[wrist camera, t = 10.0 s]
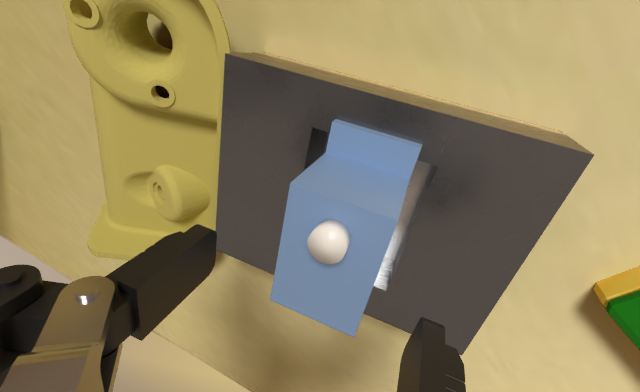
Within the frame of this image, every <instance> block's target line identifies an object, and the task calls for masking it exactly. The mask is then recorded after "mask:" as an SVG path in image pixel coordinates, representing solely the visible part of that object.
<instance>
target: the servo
mask: <svg viewBox="0 0 640 392" xmlns="http://www.w3.org/2000/svg"><path fill="white" fill-rule="evenodd" d="M421 148H422V144H419V143H416V142H412V141H409V140H405V139H402V138H399V137H395V136H392V135H388V134H385V133H382V132H378V131H375V130H372V129H368V128H365V127H361V126H358V125H355V124H351V123H348V122H345V121H341V120H338V119H335V120H334V121H332V125H331V129H330V134H329V138H328V143H327V148H326V152H325V154H323V155H322V156H321V157H320V158H319V159H318V160H316V161H315V162H314V163H313V164H312V165H310V166H309V167H308V168H307V169H306V170H305V171H303V172H302V173H301V174H300V175H299V176H298V177H296V178H295V179H294V180H293V181H292V182H291V183H290V187H289V193H288V199H287V205H286V211H285V216H284V222H283V228H282V234H281V240H280V245H279V251H278V257H277V263H276V269H275V274H274V280H273V286H272V292H271V298H270V300H271V301H274V302H276V303H278V304H280V305H282V306H285V307H287V308H289V309H291V310H294V311H296V312H298V313H300V314H303V315H305V316H307V317H309V318H312V319H314V320H316V321H318V322H320V323H323V324H325V325H327V326H329V327H332V328H334V329H336V330H338V331H341V332H343V333H345V334H347V335H350V336H352V337H354V336H355V333H356V331H357V328H358V325H359V323H360V320H361V317H362V315H363V312H364V310H365V307H366V304H367V302H368V299H369V296H370V294H371V291H372V288H373V286H374V283H375V281H376V278H377V275H378V273H379V270H380V267H381V265H382V262H383V259H384V257H385V254H386V252H387V249H388V246H389V244H390V241H391V238H392V236H393V233H394V230H395V228H396V225H397V222H398V219H399V216H400V212H401V209H402V205H403V202H404V198H405V195H406V191H407V187H408V184H409V180H410V178H411V175H412V172H413V169H414V167H415V164H416V161H417V159H418V156H419V153H420V151H421Z"/></svg>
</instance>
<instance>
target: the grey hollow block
mask: <svg viewBox="0 0 640 392" xmlns="http://www.w3.org/2000/svg"><path fill="white" fill-rule="evenodd" d="M335 119H338V120H341V121H345V122H348V123H351V124H355V125H358V126H361V127H365V128H368V129H372V130H375V131H378V132H382V133H385V134H388V135H392V136H395V137H399V138H402V139H405V140H409V141H412V142H416V143H419V144H422V148H421V151H420V153H419V156H418V159H417V161H416V164H415V167H414V169H413V172H412V175H411V178H410V180H409V184H408V187H407V191H406V195H405V198H404V202H403V205H402V209H401V212H400V216H399V219H398V222H397V225H396V228H395V230H394V233H393V236H392V238H391V241H390V244H389V246H388V249H387V252H386V254H385V257H384V259H383V262H382V265H381V267H380V270H379V273H378V275H377V278H376V281H375V283H374V286H373V288H372V291H371V294H370V296H369V299H368V302H367V304H366V307H365V310H364V312H363V313H364V314H366V315H369V316H371V317H373V318H376V319H378V320H380V321H383V322H385V323H387V324H390V325H392V326H394V327H397V328H399V329H401V330H404V331H406V332H408V333H411V334H412V333H413V331H414V329H415V327H416V325H417V323H418V321H419V319H420V318H421V317H424V318H426V319H429V320H431V321H434V322H436V323H438V324H441V325H443V326H444V327H445V344H447V345H449V346H451V347H454V348H456V349H457V351H458V353H459V355H462V354H463V353H464V351H465V350H466V348H467V347H468V345H469V344H470V342H471V341H472V339H473V338H474V336H475V335H476V333H477V332H478V330H479V329H480V327H481V326H482V324H483V323H484V321H485V320H486V318H487V317H488V315H489V314H490V312H491V311H492V309H493V307H494V306H495V304H496V303H497V301H498V300H499V298H500V297H501V295H502V294H503V292H504V291H505V289H506V288H507V286H508V285H509V283H510V282H511V280H512V279H513V277H514V276H515V274H516V273H517V271H518V270H519V268H520V267H521V265H522V264H523V262H524V261H525V259H526V258H527V256H528V254H529V253H530V251H531V250H532V248H533V247H534V245H535V244H536V242H537V241H538V239H539V238H540V236H541V235H542V233H543V232H544V230H545V229H546V227H547V226H548V224H549V223H550V221H551V220H552V218H553V217H554V215H555V214H556V212H557V211H558V209H559V208H560V206H561V205H562V203H563V201H564V200H565V198H566V197H567V195H568V194H569V192H570V191H571V189H572V188H573V186H574V185H575V183H576V182H577V180H578V179H579V177H580V176H581V174H582V173H583V171H584V170H585V168H586V167H587V165H588V164H589V162H590V161H591V159H592V158H593V156H594V154H592V153H591V152H590V151H588V150H587V149H585V148H584V147H583V146H581V145H580V144H578V143H577V142H576V141H574V140H573V139H571V138H570V137H569V136H567V135H566V134H564V133H563V132H561V131H558V130H555V129H551V128H547V127H543V126H540V125H536V124H532V123H528V122H525V121H521V120H517V119H513V118H510V117H506V116H502V115H498V114H495V113H491V112H487V111H483V110H480V109H476V108H472V107H468V106H465V105H461V104H457V103H453V102H450V101H446V100H442V99H438V98H435V97H431V96H427V95H423V94H419V93H416V92H412V91H408V90H404V89H401V88H397V87H393V86H389V85H386V84H382V83H378V82H374V81H371V80H367V79H363V78H359V77H356V76H352V75H348V74H344V73H341V72H337V71H333V70H329V69H326V68H322V67H318V66H314V65H311V64H307V63H303V62H299V61H296V60H292V59H288V58H284V57H281V56H277V55H273V54H269V53H225V64H224V82H223V101H222V119H221V137H220V156H219V174H218V193H217V211H216V229H215V231H216V233H217V243H216V250H218V251H220V252H223V253H225V254H227V255H229V256H232V257H234V258H236V259H239V260H241V261H243V262H246V263H248V264H250V265H253V266H255V267H257V268H260V269H262V270H264V271H267V272H269V273H271V274H275V269H276V263H277V257H278V251H279V245H280V240H281V234H282V228H283V222H284V216H285V211H286V205H287V199H288V193H289V187H290V183H291V182H292V181H293V180H294V179H295V178H296V177H298V176H299V175H300V174H301V173H302V172H303V171H305V170H306V169H307V168H308V167H309V166H310V165H312V164H313V163H314V162H315V161H316V160H318V159H319V158H320V157H321V156H322V155H323V154H325V152H326V148H327V143H328V138H329V134H330V129H331V125H332V121H334V120H335Z"/></svg>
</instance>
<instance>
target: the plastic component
mask: <svg viewBox="0 0 640 392" xmlns="http://www.w3.org/2000/svg"><path fill="white" fill-rule="evenodd" d="M62 3H63V8H64V10H65V12H66V17H67V23H68V29H69V35H70V39H71V42H72V45H73V48H74V50H75V52H76V55H77V57H78V58H79V60H80V62H81V63H82V65H83V66H84V68H85V69H86V71H87V72H88V73H89V77H90V84H91V91H92V98H93V106H94V113H95V120H96V127H97V134H98V141H99V149H100V156H101V163H102V170H103V177H104V185H105V192H106V201H105V204H104V206H103V209H102V211H101V213H100V215H99V217H98V219H97V221H96V223H95V225H94V227H93V230H92V232H91V234H90V236H89V238H88V242H87V244H88V249H89V251H90V252H91V254H93V255H95V256H97V257H103V258H111V259H119V260H128V261H129V260H131V259H132V258H134V257H135V256H137V255H138V254H140V253H141V252H144V251H145V250H146V249H147V248H149V247H150V246H152V245H154V244H155V243H156V242H158V241H159V240H161V239H162V238H163V237H165V236H167V235H170V234H173V233H176V232H179V231H181V232H183V233H184V232H185V231H187V230H188V229H190V228H191V227H192V226H194V225H196V224H200V225H202V226H204V227H207V228H209V229H212V230H214V231H215V229H216V211H217V193H218V174H219V156H220V137H221V119H222V101H223V82H224V64H225V53H231V50H230V43H229V38H228V34H227V30H226V27H225V24H224V21H223V18H222V15H221V13H220V10H219V8H218V6H217V4H216V2H215V0H63V2H62ZM148 13H150V14H153V15H154V16H156V17H157V18H159V19H160V20H161V21H162V22H163V23H164V24H165V26H166V27H167V28H168V30H169V32H170V34H171V37H172V41H173V49H168V48H165V47H163V46H161V45H160V44H158V43H157V42H156V41H155V40H154V39H153V38H152V36H151V34H150V32H149V30H148V27H147V17H148ZM157 85H159V86H163V87H164V88H165V89H167V91H168V93H169V98H163V97H160V96H159V95H158V94H157V93H156V90H155V86H157Z"/></svg>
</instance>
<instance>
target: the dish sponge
mask: <svg viewBox="0 0 640 392" xmlns="http://www.w3.org/2000/svg"><path fill="white" fill-rule="evenodd" d="M593 290H594V291H595V293H596V295H597V296H598V298H599V299H600V301H601V303H602V304H603V306H604V307H605V309H606V311H607V312H608V314H609V315H610V316H611V317H612V318H613V319H614V321H615V322H616V323H617V324H618V325H619V326H620V328H621V329H622V330H623V331H624V332H625V333H626V335H627V336H628V337H629V338H630V339H631V340H632V342H633V343H634V344H635V345H636V346H637V347H638V349H639V350H640V266H638V267H636V268H633V269H630V270H628V271H625V272H622V273H620V274H617V275H614V276H612V277H609V278H606V279H604V280H601V281H598V282H596V284H595V286H594V288H593Z"/></svg>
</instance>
